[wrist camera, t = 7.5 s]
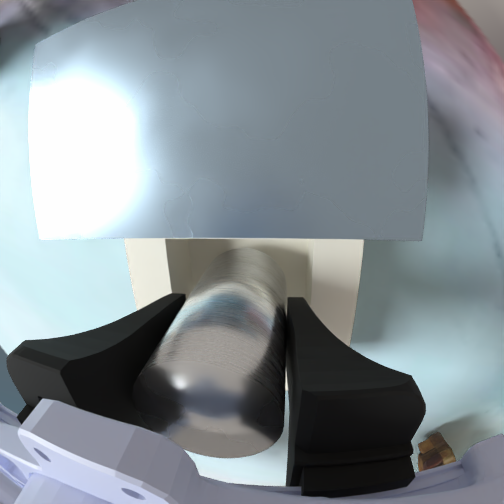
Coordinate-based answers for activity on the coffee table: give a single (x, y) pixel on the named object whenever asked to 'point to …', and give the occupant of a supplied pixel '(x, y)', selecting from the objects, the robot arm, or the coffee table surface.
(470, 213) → the coffee table surface
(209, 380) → the peg
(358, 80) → the grey arch block
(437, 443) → the wooden carving
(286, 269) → the socket block
